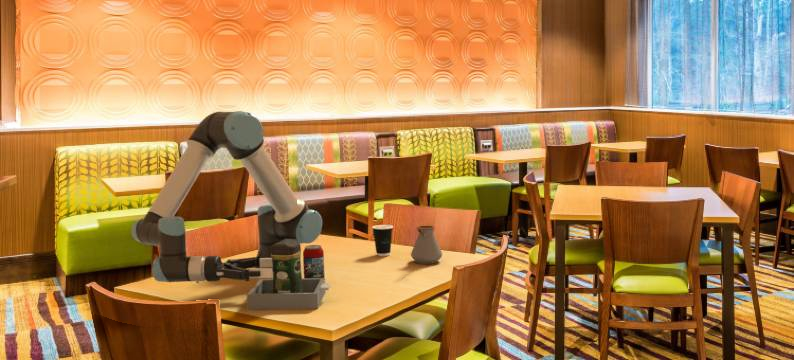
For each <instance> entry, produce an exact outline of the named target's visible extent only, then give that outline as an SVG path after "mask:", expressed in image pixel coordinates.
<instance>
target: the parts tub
mask: <svg viewBox="0 0 794 360" xmlns="http://www.w3.org/2000/svg"><path fill="white" fill-rule="evenodd" d="M302 285H303V293H273V278H259V280H258V281H257V282H256V283H255V285H254V286H253V287H252V288H251V289H250V290H249V292H248V293H247V294H246V301H247V302H246V303H247V311H263V310H264V311H266V310H267V311H268V310H269V311H271V310H272V311H273V310H318V309H319V308H320V306H321V304H322V300H323V299H324V297H325V294H326V291H329V290H330V288H331V283H328V282H327V283H326V278H325V277H324V278H305V279H304V278H302Z"/></svg>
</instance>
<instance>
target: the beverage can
mask: <svg viewBox="0 0 794 360" xmlns="http://www.w3.org/2000/svg"><path fill="white" fill-rule="evenodd" d="M324 255H325V254H324V249H323V248H322V245H319V244H310V245H305V246H304V249H303V251H302V258H303V259H302V263H303V279H305V278H325V256H324Z"/></svg>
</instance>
